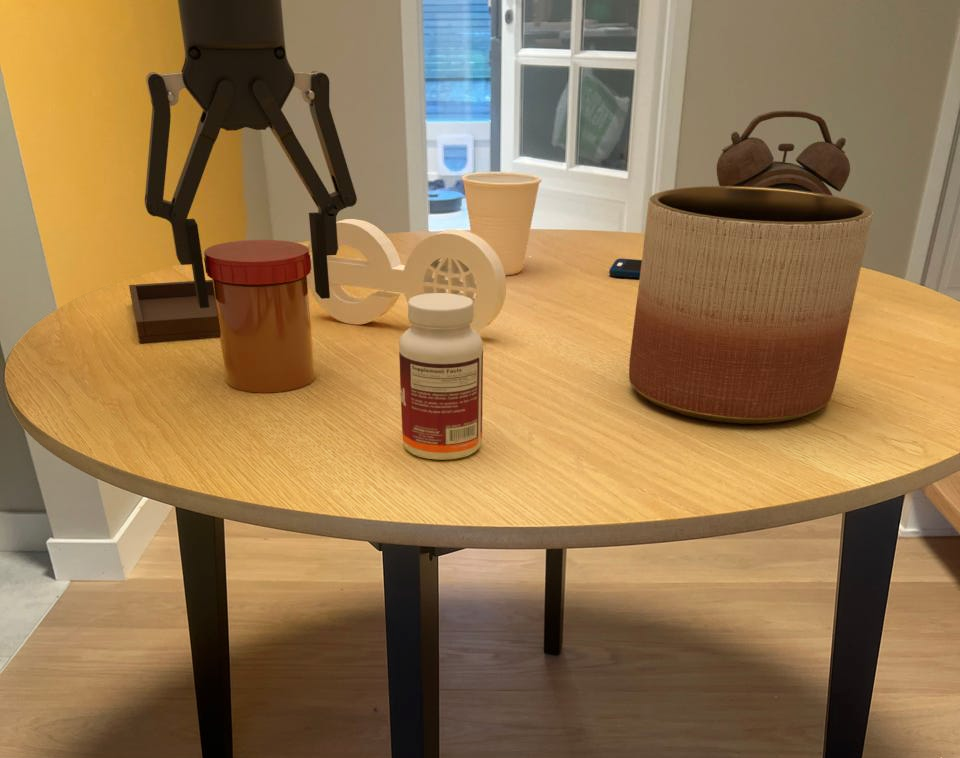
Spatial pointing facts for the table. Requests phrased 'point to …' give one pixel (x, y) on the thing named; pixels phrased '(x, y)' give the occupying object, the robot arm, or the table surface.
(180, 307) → the tray
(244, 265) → the jar lid
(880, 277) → the table surface
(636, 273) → the cell phone
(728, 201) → the planter
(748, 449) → the table surface
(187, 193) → the robot arm
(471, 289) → the cream logo sign
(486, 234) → the cup
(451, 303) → the pill bottle
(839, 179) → the alarm clock
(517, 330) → the table surface
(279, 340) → the jar
